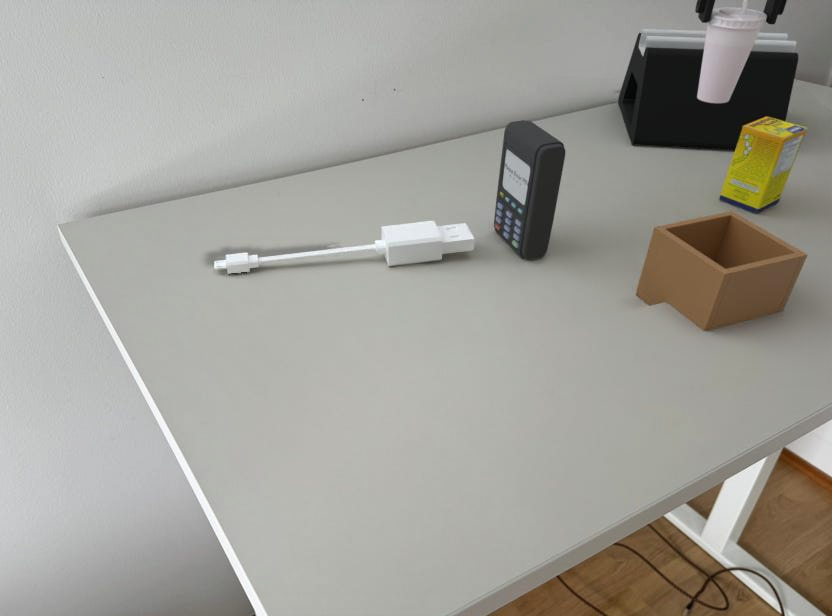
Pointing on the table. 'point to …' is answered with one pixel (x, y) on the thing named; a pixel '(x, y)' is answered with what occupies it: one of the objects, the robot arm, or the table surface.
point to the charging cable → (379, 247)
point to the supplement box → (761, 164)
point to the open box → (719, 270)
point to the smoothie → (727, 50)
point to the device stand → (678, 87)
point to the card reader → (528, 188)
